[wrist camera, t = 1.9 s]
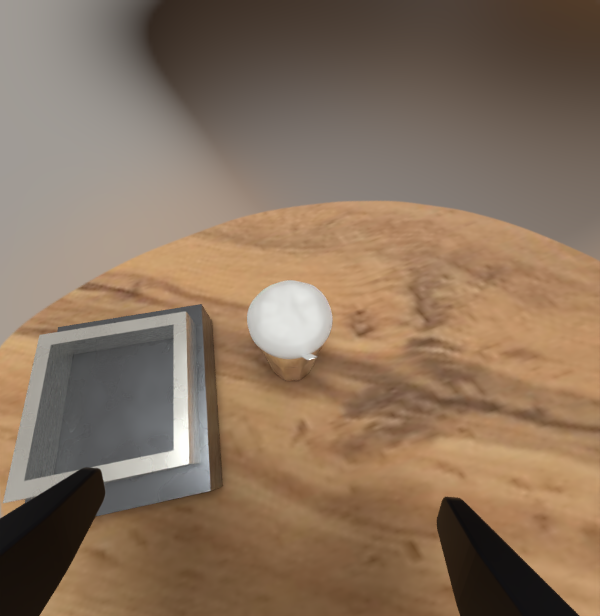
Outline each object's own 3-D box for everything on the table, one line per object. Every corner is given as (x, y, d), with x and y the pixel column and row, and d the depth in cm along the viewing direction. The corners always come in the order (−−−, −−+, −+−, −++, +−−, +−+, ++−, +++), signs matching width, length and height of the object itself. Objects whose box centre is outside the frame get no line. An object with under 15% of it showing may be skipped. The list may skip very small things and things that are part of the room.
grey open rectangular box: (222, 486, 19) (200, 495, 15) (59, 521, 18) (-17, 542, 14) (211, 320, 24) (192, 290, 20) (85, 342, 24) (36, 315, 19)
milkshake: (276, 410, 21) (262, 376, 12) (255, 344, 24) (231, 275, 15) (334, 388, 22) (360, 342, 13) (308, 326, 24) (316, 251, 15)
